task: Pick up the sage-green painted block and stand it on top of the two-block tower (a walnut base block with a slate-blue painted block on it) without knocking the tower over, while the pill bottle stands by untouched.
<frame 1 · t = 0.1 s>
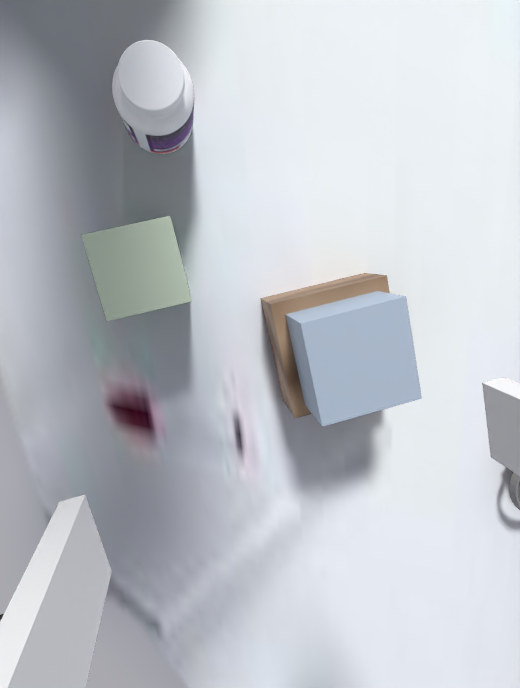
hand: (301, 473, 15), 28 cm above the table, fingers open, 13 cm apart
tower top: (340, 348, 39), point 5 cm above the table, touching tower base
green block: (146, 265, 39), on the table
tower base: (322, 337, 44), on the table, touching tower top
pill bottle: (159, 120, 38), on the table
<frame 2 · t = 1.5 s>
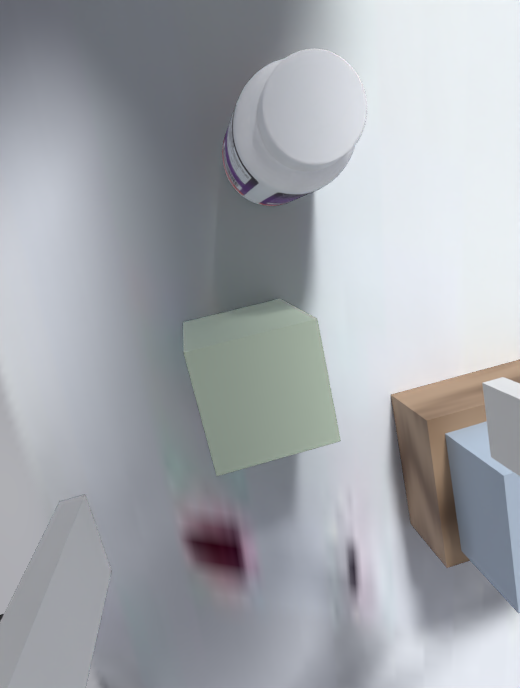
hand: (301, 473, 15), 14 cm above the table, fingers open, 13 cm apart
tower top: (514, 475, 28), point 5 cm above the table
green block: (243, 357, 28), on the table
tower base: (464, 440, 33), on the table
pill bottle: (267, 157, 26), on the table
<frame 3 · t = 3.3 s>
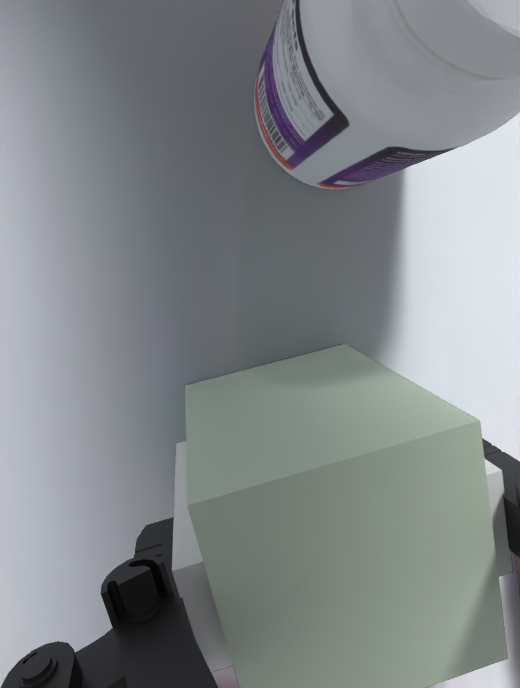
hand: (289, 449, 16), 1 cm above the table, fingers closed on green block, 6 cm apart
green block: (283, 439, 17), on the table, touching gripper
pill bottle: (329, 108, 16), on the table
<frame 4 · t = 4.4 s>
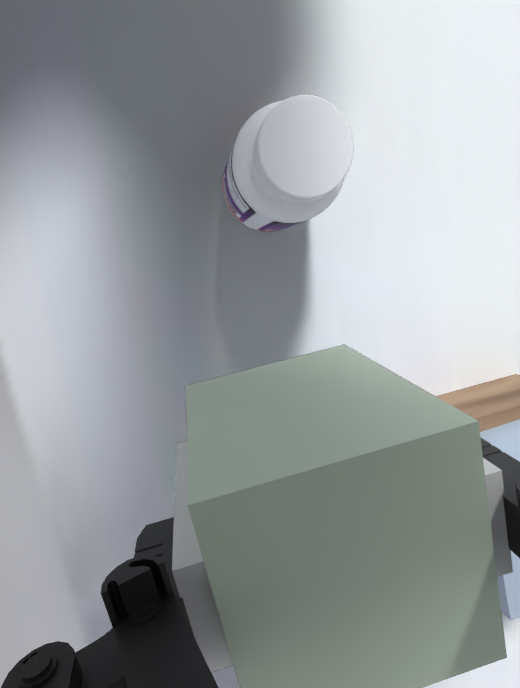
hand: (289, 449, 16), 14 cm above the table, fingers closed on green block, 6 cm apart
tower top: (504, 485, 29), point 5 cm above the table, touching tower base
green block: (283, 439, 17), point 13 cm above the table, touching gripper
tower base: (458, 454, 34), on the table, touching tower top
pill bottle: (265, 187, 28), on the table
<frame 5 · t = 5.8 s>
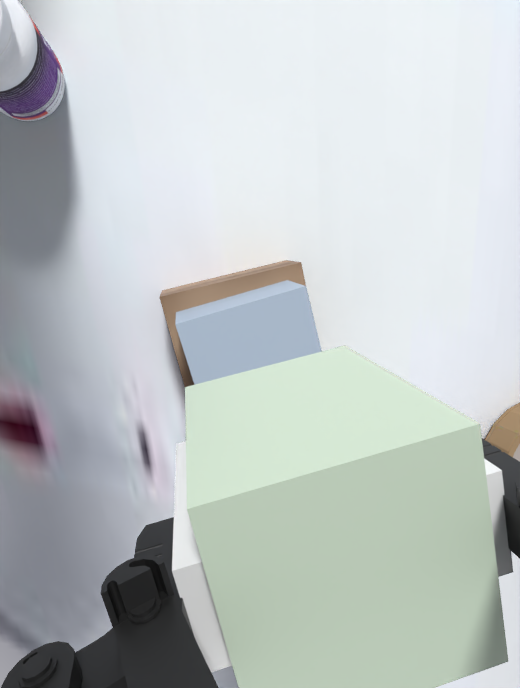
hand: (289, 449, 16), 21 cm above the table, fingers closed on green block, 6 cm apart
tower top: (247, 349, 33), point 5 cm above the table
green block: (283, 440, 17), point 21 cm above the table, touching gripper
tower base: (239, 335, 38), on the table
alarm clock: (512, 461, 45), on the table
pill bottle: (25, 80, 31), on the table
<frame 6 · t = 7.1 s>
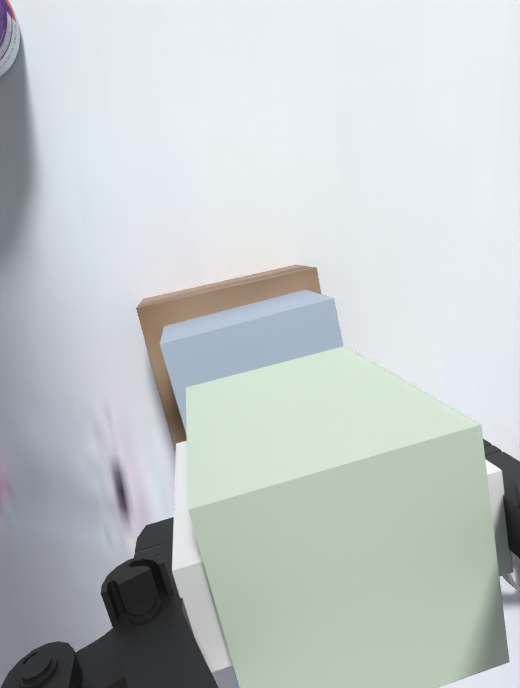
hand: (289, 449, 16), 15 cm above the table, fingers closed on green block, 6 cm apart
tower top: (252, 375, 26), point 5 cm above the table, touching tower base
green block: (284, 441, 17), point 14 cm above the table, touching gripper
tower base: (237, 354, 31), on the table, touching tower top
when the fingers open (11 cm above the table, at t = 8.1 s): green block stays where it is, point 10 cm above the table.
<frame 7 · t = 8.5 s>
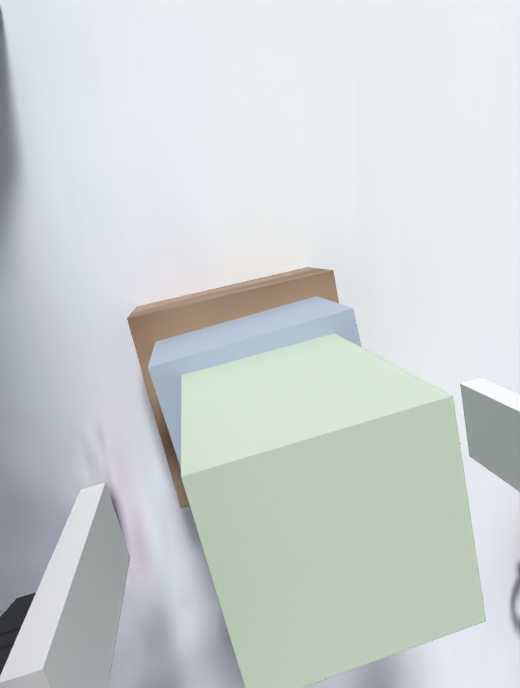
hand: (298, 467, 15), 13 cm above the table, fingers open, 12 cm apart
tower top: (258, 395, 23), point 5 cm above the table, touching tower base
green block: (277, 426, 18), point 10 cm above the table
tower base: (242, 367, 28), on the table, touching tower top
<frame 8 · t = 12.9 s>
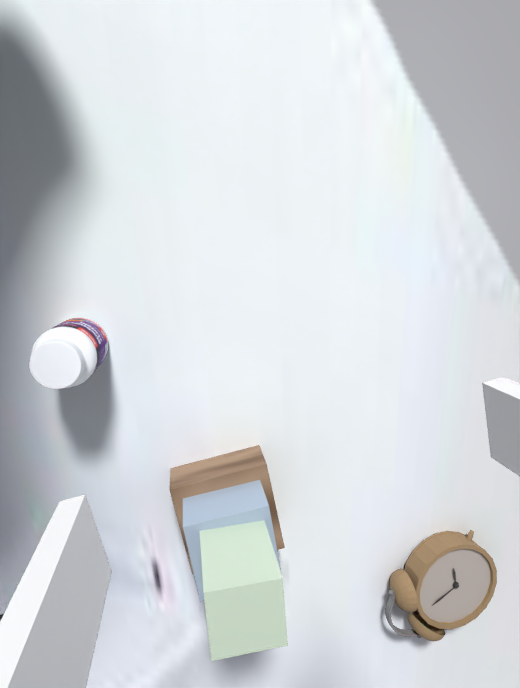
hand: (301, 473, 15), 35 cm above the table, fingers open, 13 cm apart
tower top: (229, 523, 48), point 5 cm above the table, touching tower base
green block: (235, 554, 43), point 10 cm above the table
tower base: (224, 495, 53), on the table, touching tower top
alarm clock: (428, 575, 60), on the table
pill bottle: (81, 342, 47), on the table
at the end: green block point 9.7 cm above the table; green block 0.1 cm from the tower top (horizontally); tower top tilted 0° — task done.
